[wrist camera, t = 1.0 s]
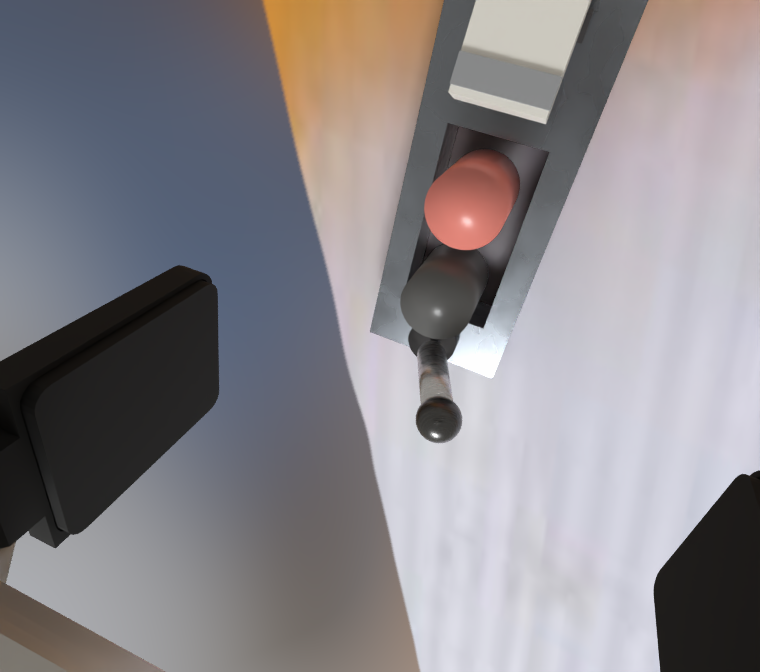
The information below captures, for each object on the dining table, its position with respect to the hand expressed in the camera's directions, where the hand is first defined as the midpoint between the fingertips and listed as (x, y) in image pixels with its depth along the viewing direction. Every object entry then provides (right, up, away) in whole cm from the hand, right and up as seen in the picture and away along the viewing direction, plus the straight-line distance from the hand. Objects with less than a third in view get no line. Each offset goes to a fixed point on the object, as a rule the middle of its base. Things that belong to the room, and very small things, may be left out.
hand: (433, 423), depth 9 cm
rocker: (+5, +14, +10) cm, 18 cm away
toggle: (+2, +1, +20) cm, 20 cm away
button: (+4, +9, +17) cm, 20 cm away
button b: (+3, +5, +20) cm, 21 cm away
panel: (+5, +11, +19) cm, 22 cm away
